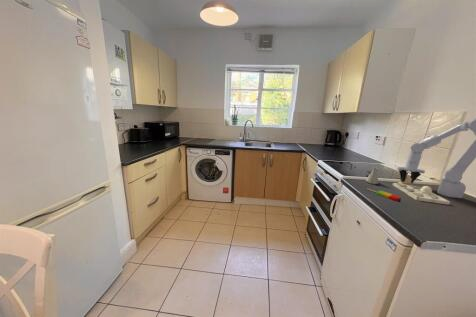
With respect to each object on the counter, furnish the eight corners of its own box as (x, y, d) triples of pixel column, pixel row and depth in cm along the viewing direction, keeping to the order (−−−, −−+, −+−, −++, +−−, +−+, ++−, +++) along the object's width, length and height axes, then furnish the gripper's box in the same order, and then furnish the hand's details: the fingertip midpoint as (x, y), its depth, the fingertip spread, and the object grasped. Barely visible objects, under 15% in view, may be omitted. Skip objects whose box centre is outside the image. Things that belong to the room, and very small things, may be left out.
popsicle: (396, 202, 94) (397, 199, 93) (364, 191, 106) (364, 187, 105) (400, 200, 97) (401, 197, 96) (368, 189, 109) (369, 186, 108)
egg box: (418, 189, 113) (419, 186, 113) (448, 205, 93) (450, 201, 93) (391, 186, 116) (392, 182, 115) (416, 201, 96) (417, 197, 95)
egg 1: (407, 183, 122) (409, 175, 120) (412, 185, 117) (414, 177, 116) (399, 182, 122) (402, 174, 121) (404, 184, 118) (406, 176, 117)
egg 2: (426, 193, 106) (429, 185, 104) (432, 197, 101) (435, 188, 100) (417, 192, 106) (420, 184, 105) (422, 195, 102) (426, 187, 101)
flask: (381, 185, 115) (385, 170, 113) (368, 183, 117) (372, 168, 114) (375, 181, 122) (379, 167, 120) (363, 180, 123) (367, 165, 121)
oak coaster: (408, 183, 123) (408, 182, 123) (416, 188, 116) (417, 187, 115) (394, 181, 125) (395, 180, 124) (402, 186, 117) (402, 185, 117)
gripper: (421, 161, 119) (414, 181, 122) (396, 159, 121) (390, 178, 125) (430, 164, 112) (422, 185, 115) (403, 161, 115) (396, 182, 118)
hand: (406, 182), depth 120 cm, fingers closed on egg 1, 4 cm apart
